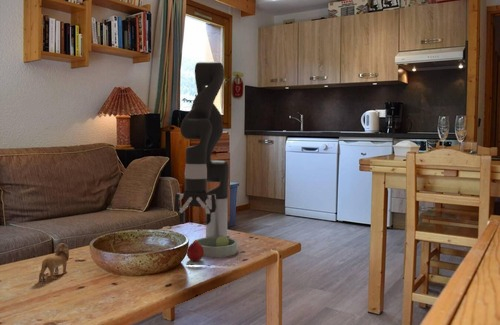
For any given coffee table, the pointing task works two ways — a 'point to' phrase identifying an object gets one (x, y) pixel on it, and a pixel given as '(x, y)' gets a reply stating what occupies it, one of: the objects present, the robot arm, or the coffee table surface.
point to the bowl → (215, 251)
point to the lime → (222, 241)
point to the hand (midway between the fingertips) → (195, 223)
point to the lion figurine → (55, 262)
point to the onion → (195, 251)
